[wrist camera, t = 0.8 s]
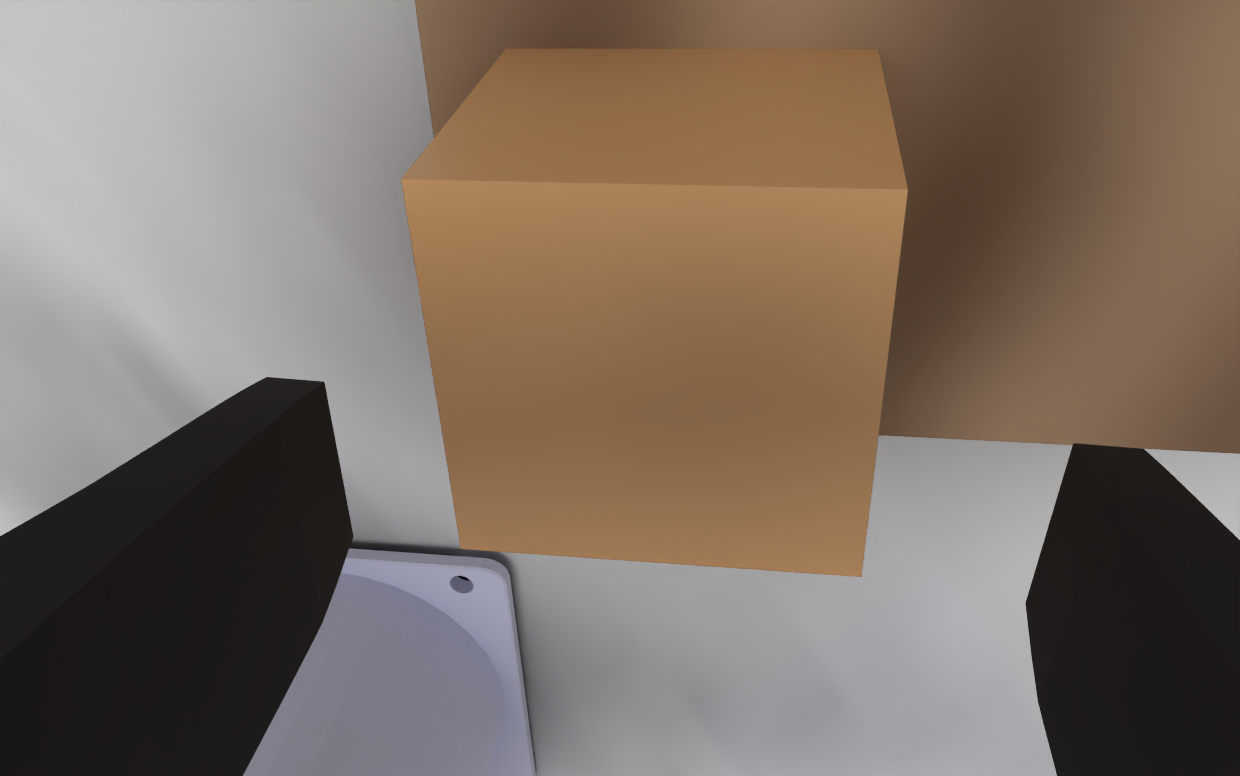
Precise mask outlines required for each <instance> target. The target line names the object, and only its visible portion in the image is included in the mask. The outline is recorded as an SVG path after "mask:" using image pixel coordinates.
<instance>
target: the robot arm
mask: <svg viewBox="0 0 1240 776" xmlns="http://www.w3.org/2000/svg"><path fill="white" fill-rule="evenodd" d="M352 539H353V532H352V527H351V521H350V516H349V511H348V505H347V500H346V495H345V489H344V484H343V479H342V474H341V468H340V463H339V458H338V452H337V447H336V442H335V436H334V431H333V426H332V420H331V415H330V410H329V405H328V399H327V394H326V389H325V383H324V382H320V381H308V380H295V379H283V378H271V377H266V378H264V379H262V380H260V381H258V382H257V383H255V384H253V385H251V386H249V387H247V388H246V389H244V390H242V391H240V392H239V393H237V394H235V395H234V396H232V397H230V398H229V399H227V400H225V401H224V402H222V403H220V404H219V405H217V406H215V407H214V408H212V409H211V410H209V411H207V412H206V413H204V414H203V415H201V416H199V417H198V418H196V419H195V420H193V421H191V422H190V423H188V424H187V425H185V426H183V427H182V428H180V429H179V430H177V431H176V432H174V433H172V434H171V435H169V436H168V437H166V438H164V439H163V440H161V441H160V442H158V443H156V444H155V445H153V446H152V447H150V448H148V449H147V450H145V451H144V452H142V453H140V454H139V455H137V456H136V457H134V458H132V459H131V460H129V461H128V462H126V463H124V464H123V465H121V466H119V467H118V468H116V469H115V470H113V471H111V472H110V473H108V474H107V475H105V476H103V477H102V478H100V479H99V480H97V481H95V482H94V483H92V484H90V485H89V486H87V487H86V488H84V489H82V490H80V491H79V492H77V493H75V494H73V495H72V496H70V497H68V498H66V499H65V500H63V501H61V502H59V503H58V504H56V505H54V506H52V507H51V508H49V509H47V510H45V511H44V512H42V513H40V514H38V515H37V516H35V517H33V518H32V519H30V520H28V521H26V522H25V523H23V524H21V525H19V526H18V527H16V528H14V529H12V530H11V531H9V532H7V533H5V534H4V535H2V536H0V776H536V773H535V765H534V757H533V750H532V742H531V734H530V727H529V719H528V711H527V703H526V696H525V688H524V680H523V673H522V665H521V657H520V649H519V642H518V634H517V626H516V619H515V611H514V603H513V595H512V588H511V580H510V575H509V573H508V570H507V569H506V568H505V567H504V566H503V565H502V564H501V563H499V562H497V561H495V560H492V559H487V558H477V557H463V556H448V555H434V554H420V553H406V552H392V551H378V550H363V549H349V548H350V545H351V542H352ZM458 576H464V577H467V578H468V579H469V580H471V581H466V580H463V579H461V578H459V577H458ZM1026 611H1027V620H1028V628H1029V637H1030V646H1031V654H1032V662H1033V669H1034V676H1035V683H1036V690H1037V698H1038V703H1039V707H1040V711H1041V715H1042V719H1043V723H1044V727H1045V731H1046V735H1047V738H1048V742H1049V746H1050V750H1051V754H1052V757H1053V761H1054V765H1055V769H1056V773H1057V776H1240V540H1239V539H1238V538H1237V537H1236V536H1235V535H1234V534H1233V533H1232V532H1231V531H1230V530H1229V529H1227V528H1226V527H1225V526H1224V525H1223V524H1222V523H1221V522H1220V521H1219V520H1218V519H1217V518H1216V517H1215V516H1214V515H1213V514H1212V513H1211V512H1210V511H1209V510H1208V509H1207V508H1206V507H1205V506H1204V505H1203V504H1202V503H1201V502H1200V501H1199V500H1198V499H1197V498H1196V497H1194V496H1193V495H1192V494H1191V493H1190V492H1189V491H1188V490H1187V489H1186V488H1185V487H1184V486H1183V485H1182V484H1181V483H1180V482H1179V481H1178V480H1177V479H1176V478H1175V477H1174V476H1173V475H1172V474H1171V473H1170V472H1168V471H1167V470H1166V469H1165V468H1164V467H1163V466H1162V465H1161V464H1160V463H1159V462H1158V461H1157V460H1155V459H1154V458H1153V457H1152V456H1151V455H1150V454H1149V453H1148V452H1146V451H1145V450H1144V449H1140V448H1128V447H1116V446H1103V445H1091V444H1079V443H1073V447H1072V450H1071V453H1070V457H1069V460H1068V463H1067V467H1066V470H1065V473H1064V477H1063V480H1062V483H1061V487H1060V490H1059V493H1058V497H1057V500H1056V503H1055V507H1054V510H1053V513H1052V517H1051V520H1050V523H1049V527H1048V530H1047V533H1046V537H1045V540H1044V543H1043V547H1042V550H1041V553H1040V557H1039V560H1038V563H1037V567H1036V570H1035V573H1034V577H1033V580H1032V584H1031V587H1030V590H1029V594H1028V597H1027V600H1026Z"/></svg>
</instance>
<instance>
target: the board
mask: <svg viewBox="0 0 1240 776" xmlns="http://www.w3.org/2000/svg"><path fill="white" fill-rule="evenodd" d="M415 5H416V12H417V19H418V26H419V34H420V41H421V48H422V55H423V62H424V69H425V76H426V84H427V91H428V98H429V105H430V112H431V119H432V126H433V134H434V138H435V137H436V135H437V134H438V133H439V132H440V130H441V129H442V128H443V127H444V125H445V124H446V123H447V122H448V120H449V119H450V118H451V117H452V115H453V114H454V113H455V112H456V110H457V109H458V108H459V107H460V105H461V104H462V103H463V102H464V100H465V99H466V98H467V97H468V95H469V94H470V93H471V92H472V90H473V89H474V88H475V87H476V85H477V84H478V83H479V82H480V80H481V79H482V78H483V77H484V75H485V74H486V73H487V72H488V70H489V69H490V68H491V67H492V65H493V64H494V63H495V62H496V60H497V59H498V58H499V57H500V55H501V54H502V53H503V52H504V50H505V49H506V48H509V49H878V50H879V55H880V60H881V65H882V69H883V74H884V79H885V83H886V88H887V93H888V98H889V102H890V107H891V112H892V116H893V121H894V126H895V131H896V135H897V140H898V145H899V149H900V154H901V159H902V164H903V168H904V173H905V178H906V182H907V187H908V194H907V202H906V210H905V219H904V227H903V235H902V243H901V252H900V260H899V268H898V277H897V285H896V293H895V302H894V310H893V318H892V327H891V335H890V343H889V351H888V360H887V368H886V376H885V385H884V393H883V401H882V410H881V418H880V426H879V434H878V435H889V436H908V437H928V438H947V439H967V440H986V441H1006V442H1025V443H1044V444H1064V445H1073V443H1079V444H1091V445H1103V446H1116V447H1128V448H1142V449H1161V450H1181V451H1200V452H1220V453H1239V454H1240V0H415Z"/></svg>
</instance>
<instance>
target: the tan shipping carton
mask: <svg viewBox="0 0 1240 776" xmlns="http://www.w3.org/2000/svg"><path fill="white" fill-rule="evenodd" d="M401 181H402V187H403V193H404V200H405V206H406V212H407V218H408V224H409V231H410V237H411V243H412V249H413V255H414V262H415V268H416V274H417V280H418V286H419V293H420V299H421V305H422V311H423V317H424V324H425V330H426V336H427V342H428V348H429V355H430V361H431V367H432V373H433V379H434V386H435V392H436V398H437V404H438V410H439V416H440V423H441V429H442V435H443V441H444V447H445V454H446V460H447V466H448V472H449V478H450V485H451V491H452V497H453V503H454V509H455V516H456V522H457V528H458V534H459V540H460V547H461V549H468V550H482V551H497V552H511V553H526V554H540V555H554V556H569V557H583V558H597V559H612V560H626V561H640V562H655V563H669V564H684V565H698V566H712V567H727V568H741V569H755V570H770V571H784V572H798V573H813V574H827V575H842V576H856V577H861V576H862V567H863V559H864V551H865V542H866V534H867V526H868V518H869V509H870V501H871V493H872V484H873V476H874V468H875V459H876V451H877V443H878V434H879V426H880V418H881V410H882V401H883V393H884V385H885V376H886V368H887V360H888V351H889V343H890V335H891V327H892V318H893V310H894V302H895V293H896V285H897V277H898V268H899V260H900V252H901V243H902V235H903V227H904V219H905V210H906V202H907V194H908V187H907V182H906V178H905V173H904V168H903V164H902V159H901V154H900V149H899V145H898V140H897V135H896V131H895V126H894V121H893V116H892V112H891V107H890V102H889V98H888V93H887V88H886V83H885V79H884V74H883V69H882V65H881V60H880V55H879V50H878V49H509V48H506V49H505V50H504V52H503V53H502V54H501V55H500V57H499V58H498V59H497V60H496V62H495V63H494V64H493V65H492V67H491V68H490V69H489V70H488V72H487V73H486V74H485V75H484V77H483V78H482V79H481V80H480V82H479V83H478V84H477V85H476V87H475V88H474V89H473V90H472V92H471V93H470V94H469V95H468V97H467V98H466V99H465V100H464V102H463V103H462V104H461V105H460V107H459V108H458V109H457V110H456V112H455V113H454V114H453V115H452V117H451V118H450V119H449V120H448V122H447V123H446V124H445V125H444V127H443V128H442V129H441V130H440V132H439V133H438V134H437V135H436V137H435V138H434V139H433V140H432V142H431V143H430V144H429V145H428V147H427V148H426V149H425V150H424V152H423V153H422V154H421V155H420V157H419V158H418V159H417V160H416V162H415V163H414V164H413V165H412V167H411V168H410V169H409V170H408V172H407V173H406V174H405V175H404V177H403V178H402V179H401Z"/></svg>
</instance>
